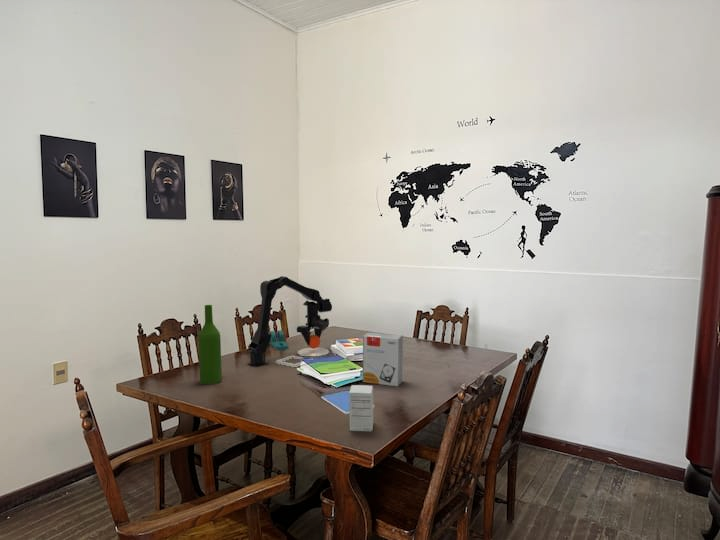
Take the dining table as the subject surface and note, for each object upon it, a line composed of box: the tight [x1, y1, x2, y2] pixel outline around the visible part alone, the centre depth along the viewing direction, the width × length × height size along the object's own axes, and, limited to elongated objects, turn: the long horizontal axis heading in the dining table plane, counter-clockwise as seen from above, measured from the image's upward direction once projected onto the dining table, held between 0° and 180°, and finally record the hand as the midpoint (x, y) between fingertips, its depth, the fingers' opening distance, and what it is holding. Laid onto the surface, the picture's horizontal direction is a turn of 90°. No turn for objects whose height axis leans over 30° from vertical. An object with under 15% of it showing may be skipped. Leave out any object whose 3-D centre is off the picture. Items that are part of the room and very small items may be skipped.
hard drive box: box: [362, 332, 404, 387], centre depth 199 cm, size 16×8×20 cm, turn 70°
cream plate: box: [297, 347, 330, 357], centre depth 247 cm, size 16×16×1 cm
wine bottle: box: [197, 304, 223, 385], centre depth 201 cm, size 9×9×32 cm
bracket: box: [269, 329, 289, 351], centre depth 262 cm, size 18×7×8 cm, turn 24°
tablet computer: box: [320, 390, 375, 415], centre depth 176 cm, size 19×13×1 cm, turn 32°
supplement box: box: [349, 384, 374, 432], centre depth 154 cm, size 7×7×13 cm
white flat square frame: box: [275, 355, 303, 368], centre depth 229 cm, size 11×12×2 cm
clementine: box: [307, 334, 321, 348], centre depth 246 cm, size 8×7×7 cm
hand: (313, 343), depth 247 cm, fingers closed on clementine, 7 cm apart
